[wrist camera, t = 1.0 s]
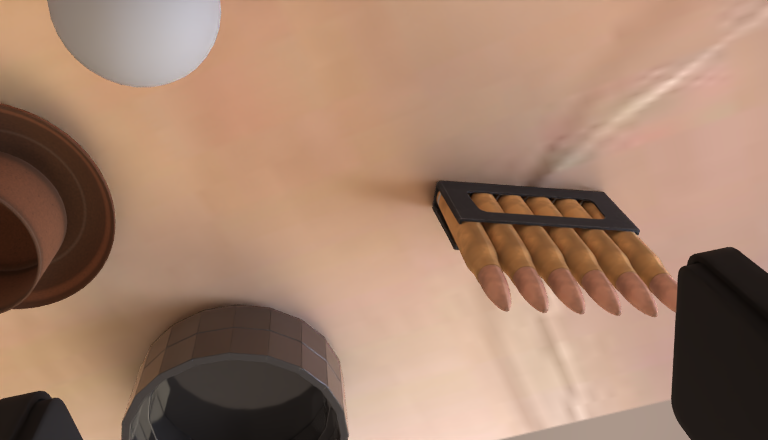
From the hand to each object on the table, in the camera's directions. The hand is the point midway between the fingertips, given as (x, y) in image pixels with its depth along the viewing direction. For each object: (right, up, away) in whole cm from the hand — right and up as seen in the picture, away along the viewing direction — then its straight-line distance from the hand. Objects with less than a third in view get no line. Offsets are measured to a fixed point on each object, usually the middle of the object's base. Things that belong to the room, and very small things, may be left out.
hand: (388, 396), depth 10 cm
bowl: (-9, -8, +33) cm, 35 cm away
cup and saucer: (-21, +4, +26) cm, 33 cm away
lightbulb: (-10, +14, +22) cm, 28 cm away
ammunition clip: (+8, +4, +30) cm, 31 cm away
